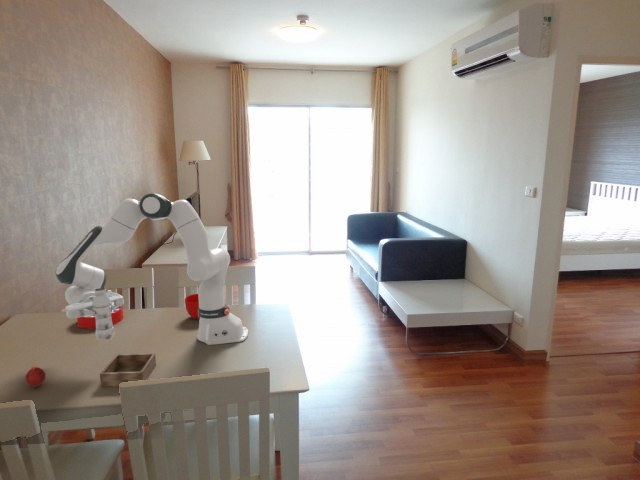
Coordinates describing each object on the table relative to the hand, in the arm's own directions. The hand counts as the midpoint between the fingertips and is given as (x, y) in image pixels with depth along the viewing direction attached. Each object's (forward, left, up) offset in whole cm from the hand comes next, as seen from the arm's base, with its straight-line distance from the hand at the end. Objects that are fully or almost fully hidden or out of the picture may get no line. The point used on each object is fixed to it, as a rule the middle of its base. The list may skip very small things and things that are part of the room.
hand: (103, 310), depth 159 cm
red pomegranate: (+20, +13, -23) cm, 33 cm away
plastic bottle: (+1, -1, -12) cm, 12 cm away
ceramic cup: (-25, -50, -23) cm, 60 cm away
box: (-10, +8, -23) cm, 26 cm away
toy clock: (+23, -46, -23) cm, 57 cm away
